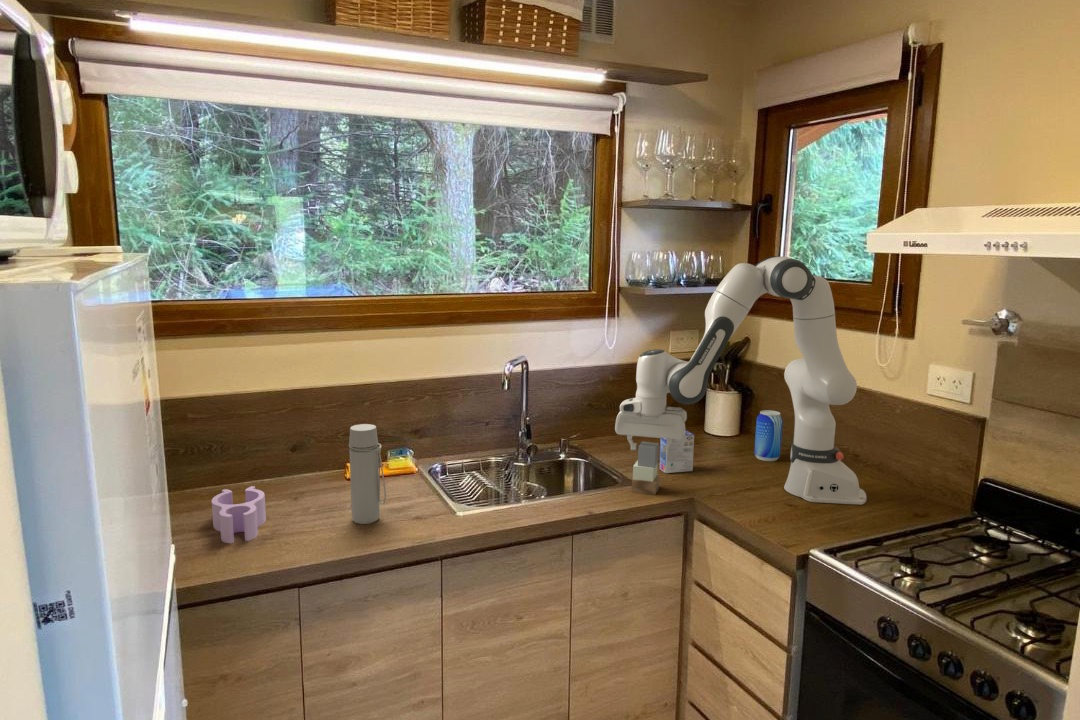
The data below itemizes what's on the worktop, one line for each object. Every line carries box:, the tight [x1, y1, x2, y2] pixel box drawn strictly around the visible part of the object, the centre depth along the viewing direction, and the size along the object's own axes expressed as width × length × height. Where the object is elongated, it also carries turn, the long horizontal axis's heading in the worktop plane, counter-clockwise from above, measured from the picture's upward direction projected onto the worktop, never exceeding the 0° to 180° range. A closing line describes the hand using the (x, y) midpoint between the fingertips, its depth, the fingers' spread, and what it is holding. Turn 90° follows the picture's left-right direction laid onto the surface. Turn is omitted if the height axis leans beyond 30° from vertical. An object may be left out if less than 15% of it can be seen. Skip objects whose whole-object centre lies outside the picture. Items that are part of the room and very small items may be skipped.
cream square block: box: [632, 459, 659, 482], centre depth 207 cm, size 6×6×4 cm
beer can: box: [753, 409, 784, 462], centre depth 238 cm, size 8×8×16 cm
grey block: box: [637, 441, 660, 468], centre depth 206 cm, size 5×5×6 cm
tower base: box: [631, 474, 661, 496], centre depth 208 cm, size 7×7×4 cm
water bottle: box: [348, 423, 387, 525], centre depth 181 cm, size 9×8×25 cm
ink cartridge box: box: [659, 430, 695, 474], centre depth 225 cm, size 10×6×14 cm, turn 106°
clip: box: [211, 485, 267, 544], centre depth 178 cm, size 20×12×7 cm, turn 22°
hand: (649, 451), depth 206 cm, fingers open, 8 cm apart
